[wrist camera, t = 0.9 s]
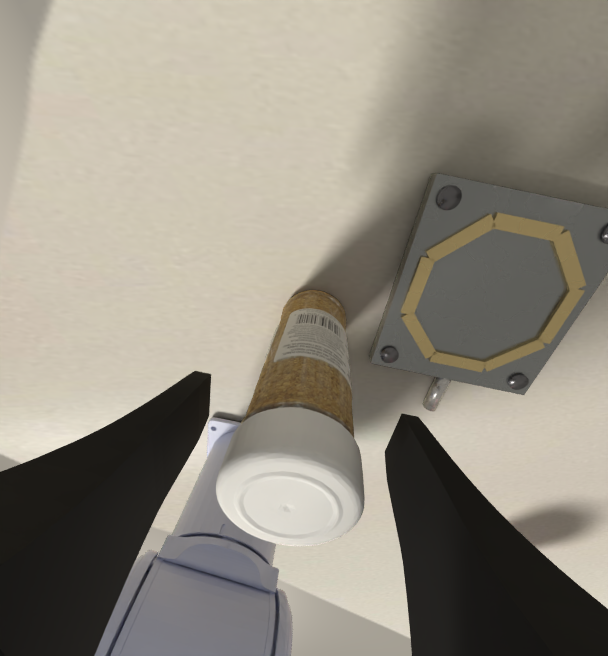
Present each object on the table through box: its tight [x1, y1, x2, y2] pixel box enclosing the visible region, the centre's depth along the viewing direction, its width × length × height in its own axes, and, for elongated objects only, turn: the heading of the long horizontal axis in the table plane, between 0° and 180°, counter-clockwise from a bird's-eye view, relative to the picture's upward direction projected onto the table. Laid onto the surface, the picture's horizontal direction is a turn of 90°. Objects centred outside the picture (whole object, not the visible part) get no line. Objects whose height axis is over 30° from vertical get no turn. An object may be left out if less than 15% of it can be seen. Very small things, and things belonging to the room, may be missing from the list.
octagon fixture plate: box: [369, 173, 608, 411], centre depth 19 cm, size 15×11×1 cm
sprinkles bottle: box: [216, 290, 364, 546], centre depth 15 cm, size 5×5×14 cm
